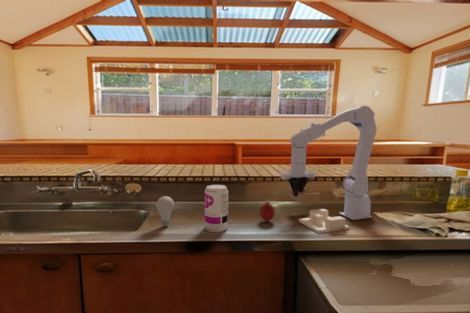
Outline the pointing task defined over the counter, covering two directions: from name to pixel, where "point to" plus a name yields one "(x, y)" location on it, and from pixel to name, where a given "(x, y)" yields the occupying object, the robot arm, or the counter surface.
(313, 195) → the tan c-shaped bracket
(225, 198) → the supplement can
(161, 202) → the lightbulb
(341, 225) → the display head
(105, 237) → the counter surface
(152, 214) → the counter surface
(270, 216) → the onion
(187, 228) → the counter surface
